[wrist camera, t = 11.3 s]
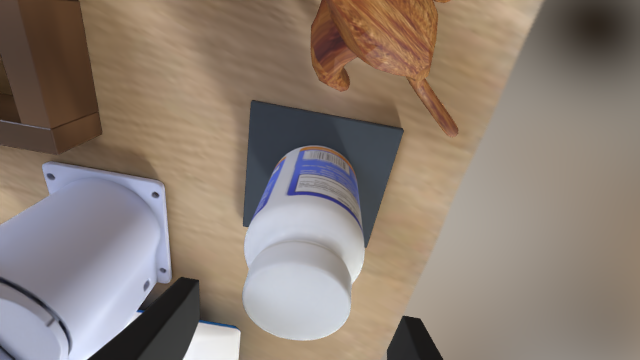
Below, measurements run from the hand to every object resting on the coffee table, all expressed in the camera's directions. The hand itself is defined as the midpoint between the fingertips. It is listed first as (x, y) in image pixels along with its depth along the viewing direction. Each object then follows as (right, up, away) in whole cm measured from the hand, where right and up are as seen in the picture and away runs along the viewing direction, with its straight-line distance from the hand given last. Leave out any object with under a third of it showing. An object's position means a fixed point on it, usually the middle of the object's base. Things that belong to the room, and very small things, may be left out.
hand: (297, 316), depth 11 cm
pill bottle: (0, +5, +9) cm, 10 cm away
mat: (0, +5, +9) cm, 10 cm away
